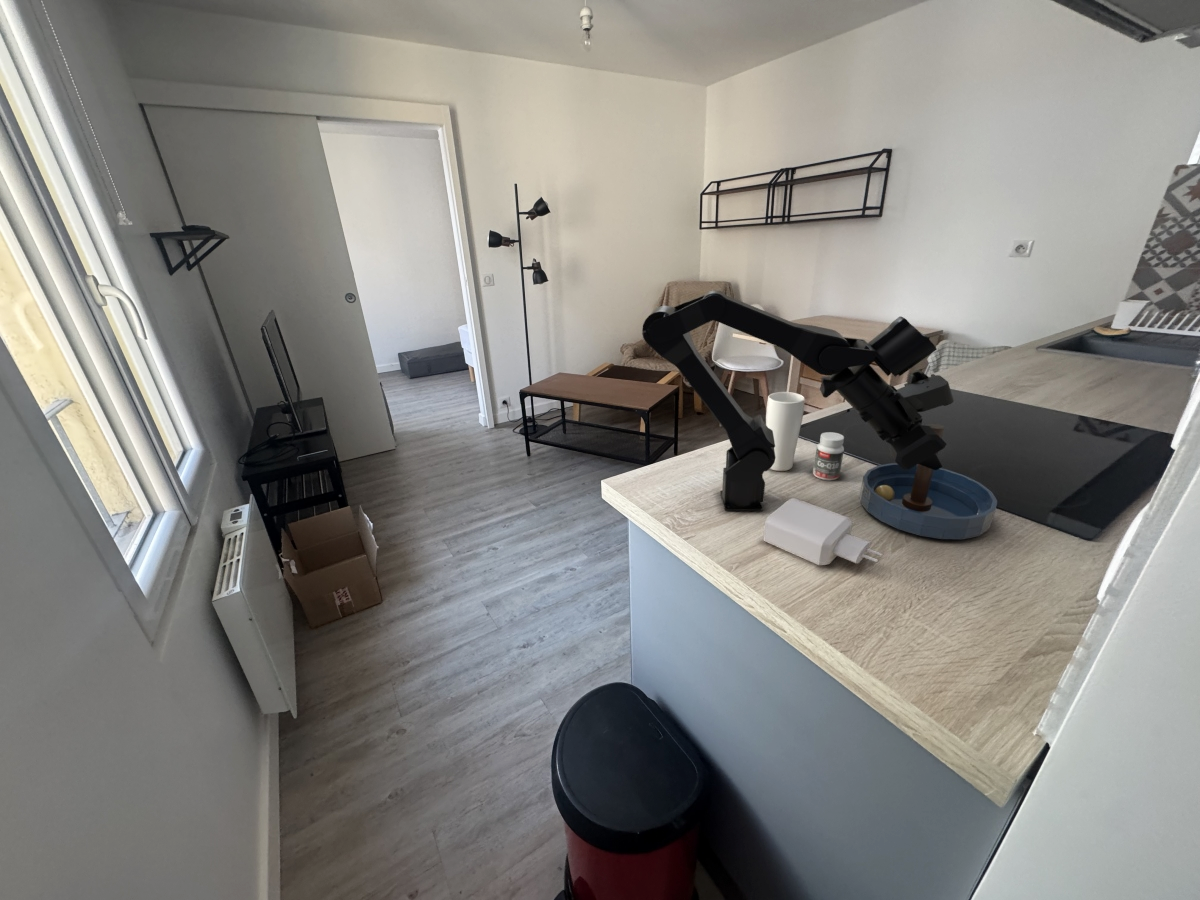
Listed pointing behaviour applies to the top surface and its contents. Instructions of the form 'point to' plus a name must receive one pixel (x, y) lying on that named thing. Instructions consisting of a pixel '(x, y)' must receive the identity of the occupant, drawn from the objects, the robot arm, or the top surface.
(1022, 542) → the top surface
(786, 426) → the drinking glass
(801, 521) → the charger
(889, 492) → the bead
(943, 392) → the robot arm
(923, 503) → the stirring stick
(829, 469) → the pill bottle
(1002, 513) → the top surface
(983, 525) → the bowl
